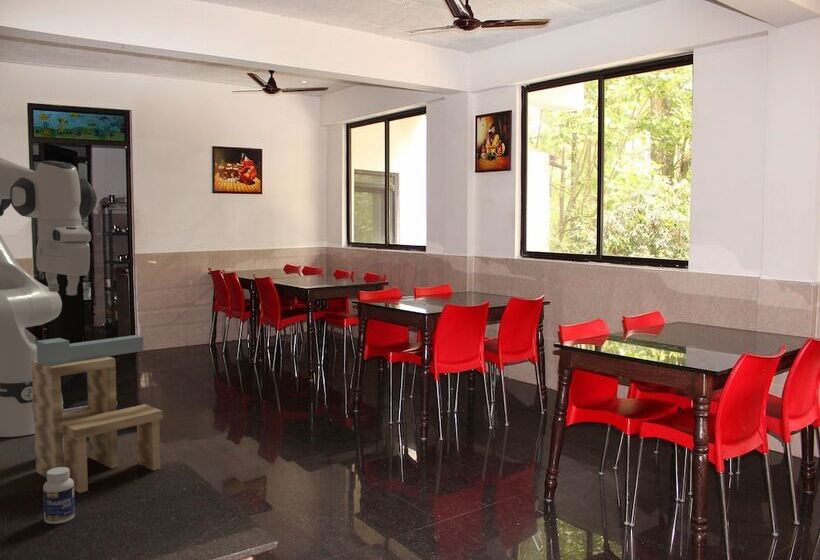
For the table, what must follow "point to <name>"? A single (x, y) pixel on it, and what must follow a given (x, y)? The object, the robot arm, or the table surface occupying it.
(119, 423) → the bench
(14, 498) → the table surface
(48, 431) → the tall stand
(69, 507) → the pill bottle
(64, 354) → the rail
